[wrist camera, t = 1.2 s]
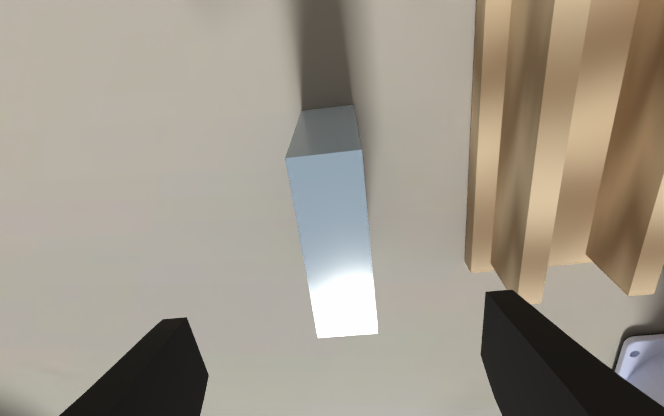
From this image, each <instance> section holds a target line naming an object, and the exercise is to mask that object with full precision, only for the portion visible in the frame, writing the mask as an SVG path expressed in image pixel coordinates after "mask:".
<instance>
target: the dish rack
mask: <svg viewBox="0 0 664 416" xmlns="http://www.w3.org/2000/svg"><path fill="white" fill-rule="evenodd" d="M465 262H466V264H467V266H468V268H469V270H470V272H471V273H476V272H487V271H496V273H497V274H498V276H499V278H500V279H501V281H502V283H503V284H504V286H505V288H506V289H507V290H514V291H515V292H516V293H517V294H518V295H520V296H521V297H522V298H523V299H524V300H526V301H527V302H528V303H529V304H538V303H542V297H543V291H544V284H545V278H546V272H547V266H555V265H566V264H577V263H588V262H594V263H595V264H596V265H597V266H598V267H599V268H600V269H601V270H602V271H603V272H604V273H605V274H606V275H607V276H608V277H609V278H610V279H611V280H612V281H613V282H614V283H615V284H616V285H617V286H618V287H619V288H620V289H621V290H622V291H623V292H624V293H625V294H626V295H627V296H635V295H647V294H654V292H655V289H656V286H657V283H658V280H659V277H660V274H661V271H662V268H663V265H664V0H476V22H475V44H474V67H473V89H472V111H471V134H470V156H469V178H468V200H467V223H466V245H465Z"/></svg>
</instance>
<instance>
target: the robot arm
mask: <svg viewBox="0 0 664 416" xmlns="http://www.w3.org/2000/svg"><path fill="white" fill-rule="evenodd" d="M481 357H482V360H483V364H484V367H485V370H486V373H487V376H488V379H489V382H490V385H491V388H492V391H493V394H494V397H495V400H496V402H497V404H498V407H499V409H500V411H501V413H502V416H664V334H658V335H645V336H633V337H629V338H627V339H626V340H625V341H624V343H623V346H622V349H621V353H620V356H619V359H618V363H617V366H616V369H615V372H614V371H613V370H612V369H610V368H609V367H608V366H606V365H605V364H604V363H602V362H601V361H600V360H598V359H597V358H596V357H595V356H593V355H592V354H591V353H589V352H588V351H587V350H586V349H584V348H583V347H582V346H581V345H579V344H578V343H577V342H575V341H574V340H573V339H572V338H570V337H569V336H568V335H567V334H566V333H564V332H563V331H562V330H561V329H559V328H558V327H557V326H556V325H555V324H553V323H552V322H551V321H550V320H548V319H547V318H546V317H545V316H544V315H542V314H541V313H540V312H539V311H538V310H536V309H535V308H534V307H533V306H532V305H530V304H529V303H528V302H527V301H526V300H524V299H523V298H522V297H521V296H520V295H518V294H517V293H516V292H515V291H514V290H503V291H491V292H486V295H485V308H484V320H483V333H482V346H481ZM208 376H209V375H208V372H207V370H206V367H205V364H204V362H203V359H202V357H201V354H200V351H199V349H198V346H197V343H196V341H195V338H194V335H193V333H192V330H191V328H190V325H189V322H188V320H187V317H186V318H174V319H163V320H162V321H161V322H159V323H158V324H157V325H156V326H155V327H154V328H153V329H152V330H150V331H149V332H148V333H147V334H146V335H145V336H144V337H143V338H142V339H141V340H140V341H139V342H138V343H137V344H136V345H135V346H134V347H133V348H132V349H130V350H129V351H128V352H127V353H126V354H125V355H124V356H123V357H122V358H121V359H120V360H119V361H118V362H117V363H116V364H115V365H114V366H113V367H112V368H111V369H110V370H108V371H107V372H106V373H105V374H104V375H103V376H102V377H101V378H100V379H99V380H98V381H97V382H96V383H95V384H94V385H93V386H92V387H90V388H89V389H88V390H87V391H86V392H85V393H84V394H83V395H82V396H81V397H80V398H79V399H77V400H76V401H75V402H74V403H73V404H72V405H71V406H69V407H68V408H67V409H66V410H65V411H64V412H63V413H62V414H60V415H59V416H200V413H201V409H202V405H203V400H204V396H205V391H206V386H207V381H208Z"/></svg>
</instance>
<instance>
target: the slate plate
mask: <svg viewBox="0 0 664 416" xmlns="http://www.w3.org/2000/svg"><path fill="white" fill-rule="evenodd" d="M285 160H286V166H287V171H288V176H289V182H290V187H291V193H292V198H293V204H294V209H295V215H296V220H297V226H298V231H299V237H300V242H301V248H302V253H303V258H304V264H305V269H306V275H307V280H308V286H309V291H310V297H311V302H312V308H313V313H314V319H315V324H316V329H317V335H318V338H324V337H336V336H349V335H361V334H373V333H378V328H377V316H376V305H375V294H374V282H373V271H372V259H371V248H370V236H369V225H368V213H367V202H366V190H365V179H364V167H363V156H362V147H361V142H360V137H359V131H358V126H357V121H356V115H355V110H354V105H345V106H337V107H328V108H320V109H311V110H303V111H301V114H300V117H299V120H298V123H297V126H296V128H295V131H294V134H293V137H292V140H291V143H290V146H289V149H288V151H287V154H286V157H285Z"/></svg>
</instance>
